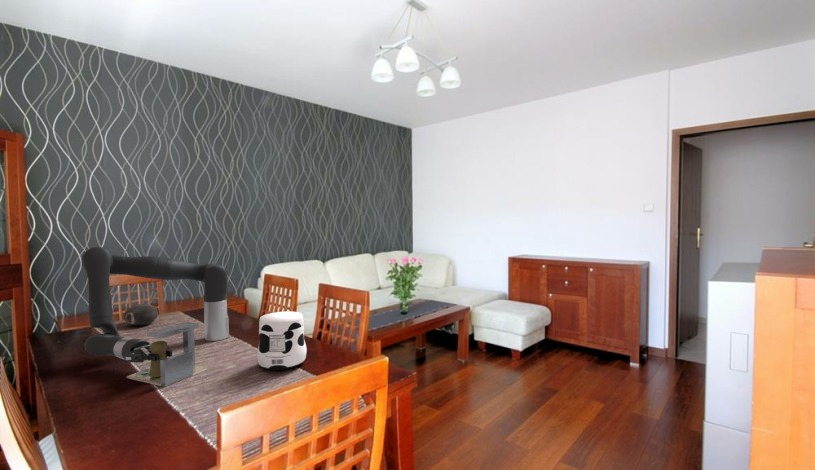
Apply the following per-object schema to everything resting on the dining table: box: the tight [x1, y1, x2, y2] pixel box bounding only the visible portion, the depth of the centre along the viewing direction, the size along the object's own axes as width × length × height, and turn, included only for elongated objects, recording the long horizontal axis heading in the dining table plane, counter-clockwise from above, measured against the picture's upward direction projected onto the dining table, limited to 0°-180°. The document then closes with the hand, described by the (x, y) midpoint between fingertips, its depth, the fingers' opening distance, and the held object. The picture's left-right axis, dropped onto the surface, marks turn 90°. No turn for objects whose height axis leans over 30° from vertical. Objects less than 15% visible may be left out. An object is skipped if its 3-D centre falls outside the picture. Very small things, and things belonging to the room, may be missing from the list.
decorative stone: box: [123, 303, 159, 327], centre depth 203 cm, size 19×14×10 cm
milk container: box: [256, 311, 308, 371], centre depth 146 cm, size 17×17×18 cm
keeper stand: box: [126, 321, 207, 388], centre depth 138 cm, size 19×16×16 cm
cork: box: [149, 340, 169, 377], centre depth 135 cm, size 6×6×11 cm
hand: (164, 355), depth 134 cm, fingers closed on cork, 4 cm apart
